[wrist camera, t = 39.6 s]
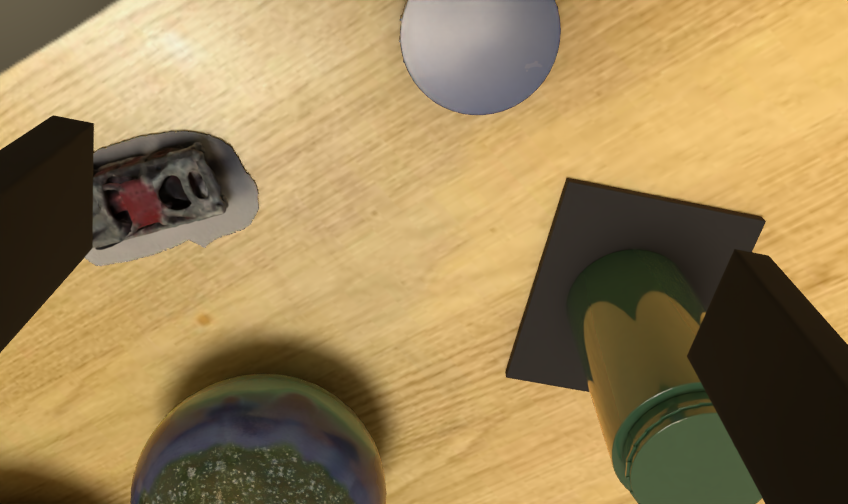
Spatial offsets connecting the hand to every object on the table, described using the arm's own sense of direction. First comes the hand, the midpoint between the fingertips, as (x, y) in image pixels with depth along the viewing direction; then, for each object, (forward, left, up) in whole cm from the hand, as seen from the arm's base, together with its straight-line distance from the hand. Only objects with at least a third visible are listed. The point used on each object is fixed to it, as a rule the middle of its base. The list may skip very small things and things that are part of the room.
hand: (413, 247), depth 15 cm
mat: (+14, +16, -27) cm, 34 cm away
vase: (+29, -4, -27) cm, 40 cm away
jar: (+14, +16, -26) cm, 34 cm away
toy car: (+13, -13, -27) cm, 33 cm away
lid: (0, +3, -25) cm, 25 cm away
